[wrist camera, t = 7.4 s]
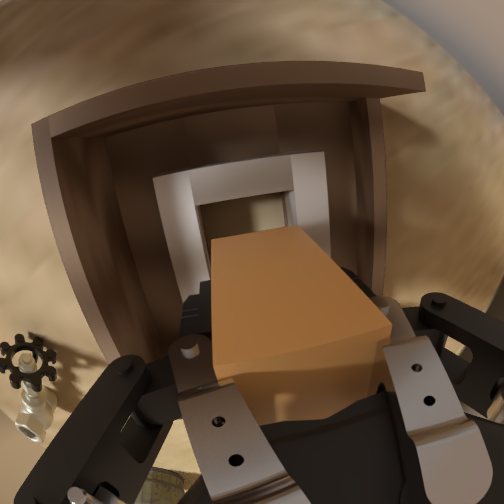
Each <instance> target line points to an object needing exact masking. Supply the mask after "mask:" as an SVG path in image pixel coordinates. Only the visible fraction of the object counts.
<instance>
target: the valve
mask: <svg viewBox="0 0 504 504" xmlns="http://www.w3.org/2000/svg"><path fill="white" fill-rule="evenodd" d="M0 350H1V354H2V355H3V356H4V355H5V354H6V358H5V359H4V358H0V372H1V373H5V370H6V369H9V370H10V372H11V373H12V374H10V376H9V379H10V383H11V386H12V387H13V388H15V389H19V388H20V387H21V381H22V383H23V388H24V389H23V390H22V392H21V397H22V401H23V403H22V405H21V413H19V415H18V417H17V419H16V421H15V424H16V427H17V429H18V430H19V431H20V432H21V434H23V435H24V436H25V437H27V438H28V439H30V440H32V441H34V442H37V443H43V440H44V438H45V435H46V431H45V430H47V429H48V428H49V427H50V426H51V424H52V422H53V413H54V411H55V409H56V406H57V396H56V395H55V394H54V393H53V392H51V391H50V390H49V389H48V388H46V387H45V386H43V385H42V380H41V378H43V377H44V376H47V377H49V381H55V380H56V379H57V373H56V369H55V368H54V367H52V366H48V362H50V361H52V363H53V364H55V363H56V352H55V351H53V350H47V351H46V352H45V351H43V340H42V339H41V338H39V337H35V338H34V339H33V342H32V343H28V342H25V339H24V336H23V335H22V334H16V335H15V344H14V345H13V346H10V345H9V344H8V343H7V342H2V343H1V344H0ZM21 350H30V351H32V354H33V356H32V355H31V354H22V355H21V356H20V358H19V367H15V366H14V365H13V364H12V358H13V356H14V355H15V353H17V352H19V351H21ZM38 355H39V356H40V358H41V359H42V362H43V363H42V366H41V368H40V369H39V370H38V371H37V365H36V363H37V360H38Z"/></svg>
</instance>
